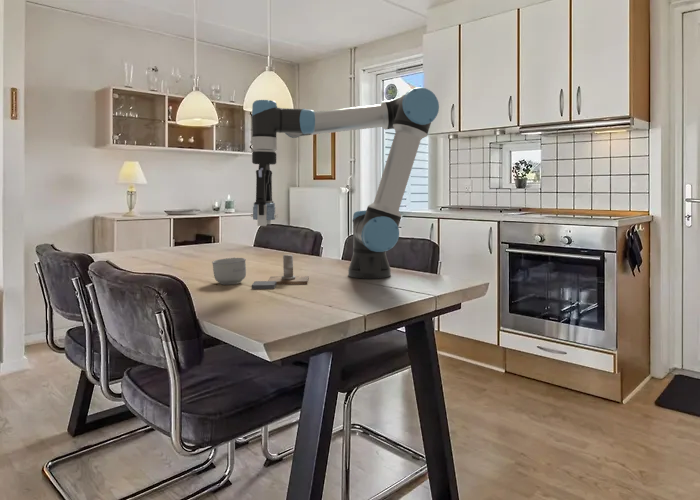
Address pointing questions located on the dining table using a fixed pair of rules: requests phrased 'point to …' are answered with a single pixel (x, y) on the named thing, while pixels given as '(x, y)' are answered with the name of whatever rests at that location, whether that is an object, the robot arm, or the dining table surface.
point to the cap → (270, 211)
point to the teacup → (229, 270)
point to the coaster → (264, 285)
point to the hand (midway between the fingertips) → (264, 224)
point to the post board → (298, 279)
